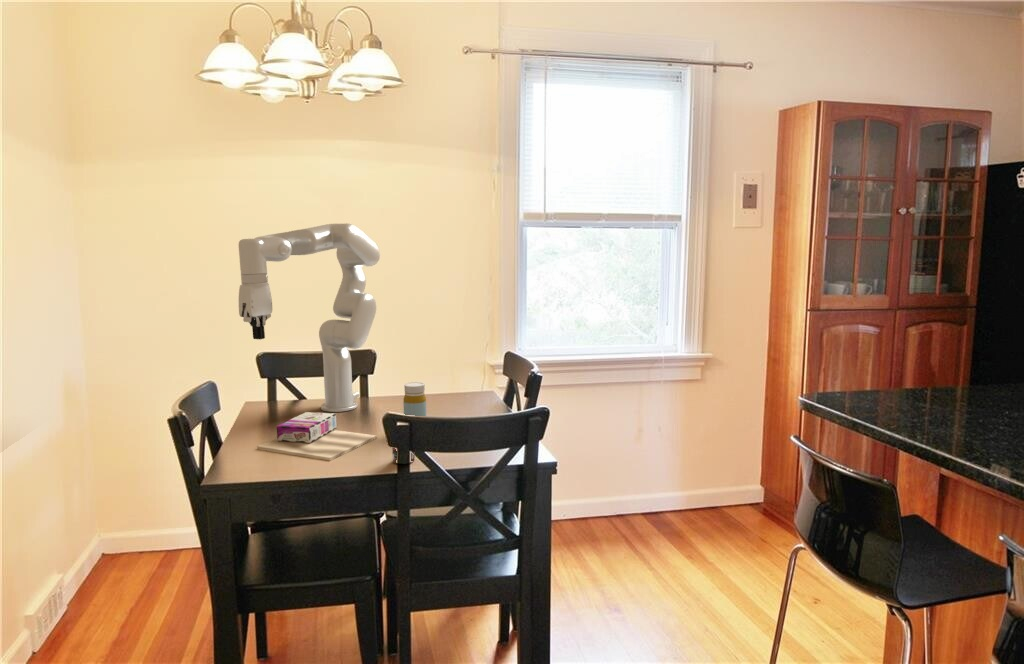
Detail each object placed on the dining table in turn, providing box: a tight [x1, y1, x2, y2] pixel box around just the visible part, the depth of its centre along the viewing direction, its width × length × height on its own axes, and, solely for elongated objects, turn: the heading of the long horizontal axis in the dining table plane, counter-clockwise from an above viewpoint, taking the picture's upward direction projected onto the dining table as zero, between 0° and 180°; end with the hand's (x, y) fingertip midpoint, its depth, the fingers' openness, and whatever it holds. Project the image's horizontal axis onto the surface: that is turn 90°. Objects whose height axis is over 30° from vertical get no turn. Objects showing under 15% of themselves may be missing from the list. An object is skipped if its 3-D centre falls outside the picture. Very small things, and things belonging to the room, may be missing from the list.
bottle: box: [403, 381, 427, 416], centre depth 211 cm, size 7×7×15 cm
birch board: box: [256, 429, 378, 461], centre depth 200 cm, size 22×26×1 cm
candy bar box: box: [275, 411, 338, 443], centre depth 205 cm, size 11×5×16 cm
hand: (259, 338), depth 208 cm, fingers closed
